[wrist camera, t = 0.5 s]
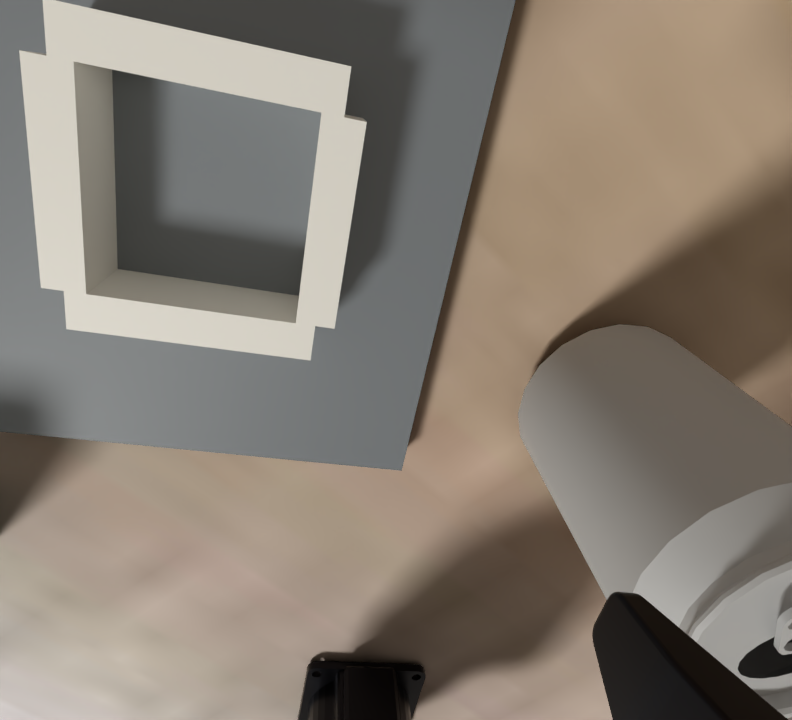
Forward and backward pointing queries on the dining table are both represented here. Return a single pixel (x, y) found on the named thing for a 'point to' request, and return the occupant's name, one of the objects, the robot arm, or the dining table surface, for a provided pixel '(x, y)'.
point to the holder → (234, 216)
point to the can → (673, 491)
